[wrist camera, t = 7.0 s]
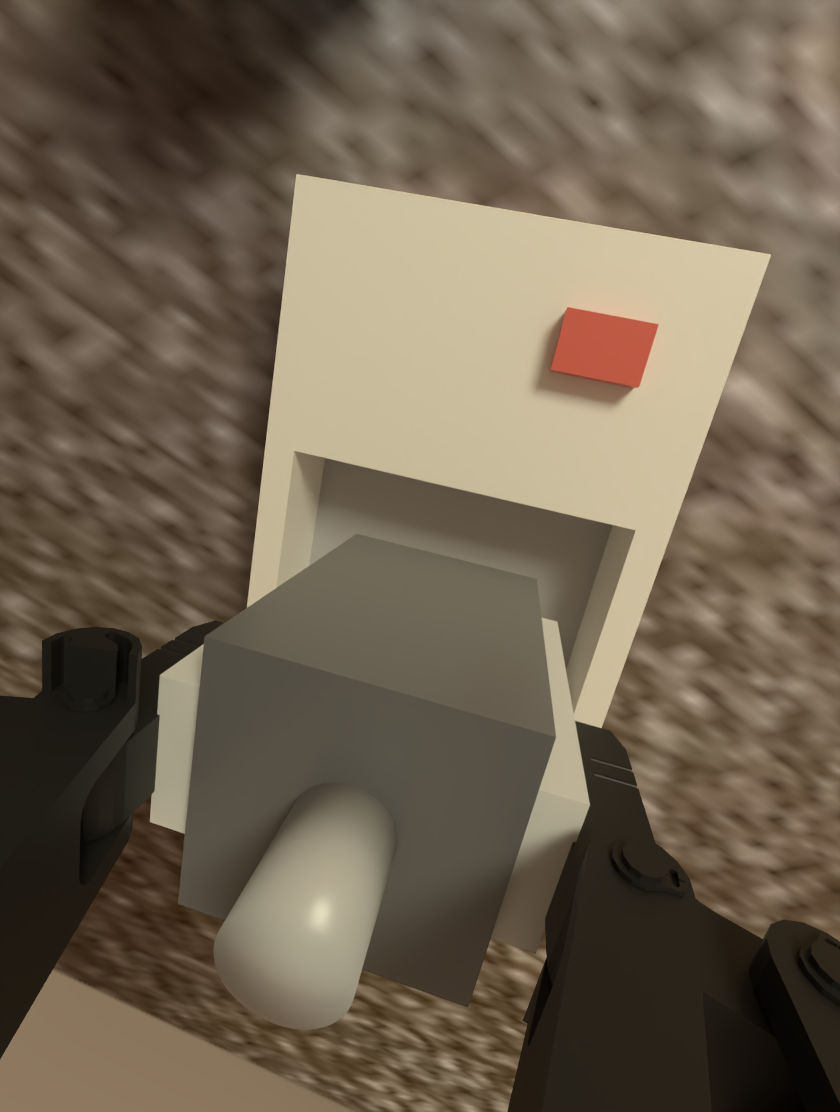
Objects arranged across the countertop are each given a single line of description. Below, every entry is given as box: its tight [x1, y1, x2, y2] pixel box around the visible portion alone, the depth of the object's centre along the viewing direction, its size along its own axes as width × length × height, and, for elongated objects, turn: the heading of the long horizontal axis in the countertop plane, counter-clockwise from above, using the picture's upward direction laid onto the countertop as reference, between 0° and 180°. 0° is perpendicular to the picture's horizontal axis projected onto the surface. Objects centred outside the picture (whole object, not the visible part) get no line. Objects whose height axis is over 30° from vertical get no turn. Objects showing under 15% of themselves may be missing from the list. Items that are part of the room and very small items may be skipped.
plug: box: [178, 534, 556, 1029], centre depth 10 cm, size 5×5×9 cm
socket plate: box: [247, 174, 771, 728], centre depth 18 cm, size 13×18×4 cm
